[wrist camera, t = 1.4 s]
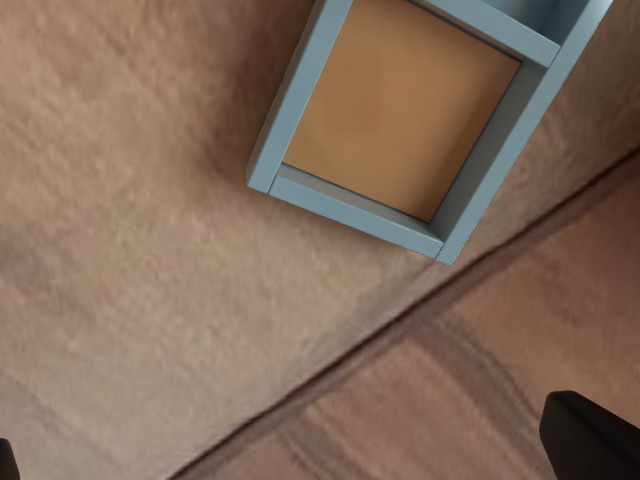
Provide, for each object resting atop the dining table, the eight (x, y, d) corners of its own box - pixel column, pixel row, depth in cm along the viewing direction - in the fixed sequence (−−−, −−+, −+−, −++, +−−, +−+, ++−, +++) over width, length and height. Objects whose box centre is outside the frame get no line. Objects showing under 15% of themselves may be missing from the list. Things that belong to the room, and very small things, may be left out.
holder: (679, -179, 18) (737, -202, 15) (432, 242, 23) (451, 267, 21) (464, -350, 15) (499, -405, 13) (245, 166, 21) (245, 186, 18)
